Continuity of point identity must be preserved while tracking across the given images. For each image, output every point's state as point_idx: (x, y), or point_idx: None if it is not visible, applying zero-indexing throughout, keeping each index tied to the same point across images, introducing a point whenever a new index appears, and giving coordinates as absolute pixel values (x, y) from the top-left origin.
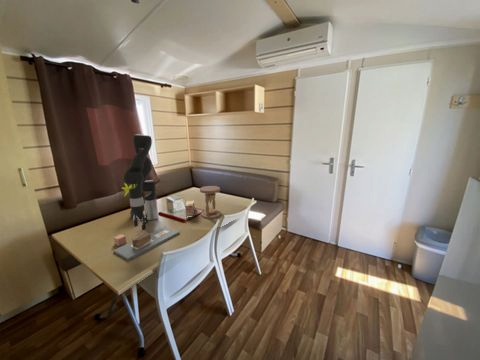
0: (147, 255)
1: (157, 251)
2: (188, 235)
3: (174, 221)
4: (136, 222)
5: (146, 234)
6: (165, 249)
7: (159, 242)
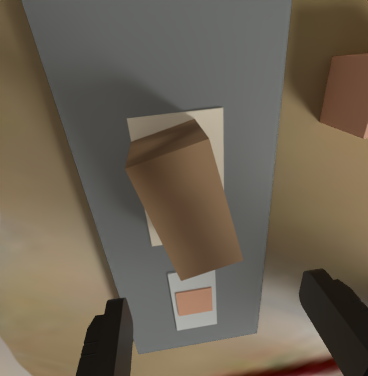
0: (11, 140)
1: (23, 206)
2: None
3: (270, 362)
4: (338, 347)
5: (184, 257)
6: (14, 245)
7: (107, 257)
